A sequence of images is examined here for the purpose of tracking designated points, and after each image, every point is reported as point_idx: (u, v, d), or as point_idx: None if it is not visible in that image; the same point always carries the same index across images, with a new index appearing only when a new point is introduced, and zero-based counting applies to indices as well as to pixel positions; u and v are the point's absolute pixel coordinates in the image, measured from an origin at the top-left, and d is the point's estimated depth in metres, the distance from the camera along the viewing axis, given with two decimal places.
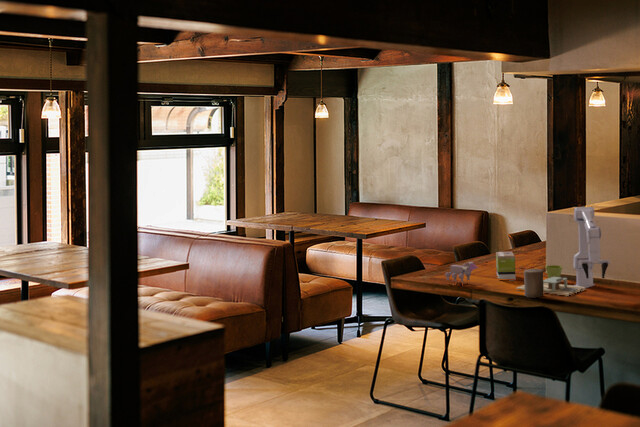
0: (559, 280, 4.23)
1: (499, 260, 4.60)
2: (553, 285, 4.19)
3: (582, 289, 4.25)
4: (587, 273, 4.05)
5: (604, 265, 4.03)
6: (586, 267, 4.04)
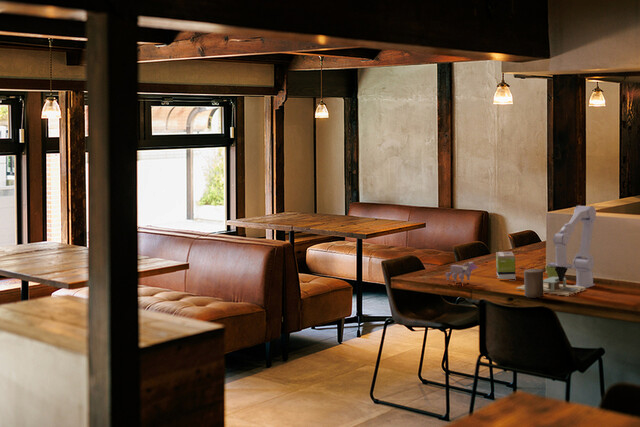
0: (558, 280, 4.23)
1: (499, 260, 4.60)
2: (552, 285, 4.20)
3: (582, 289, 4.25)
4: (559, 276, 4.23)
5: (560, 269, 4.21)
6: (557, 271, 4.22)
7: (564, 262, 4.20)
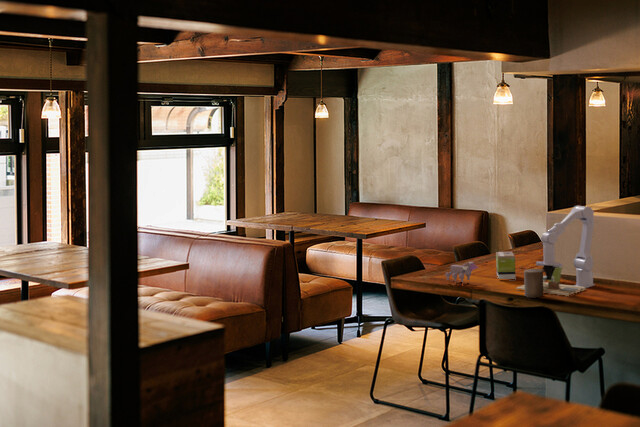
0: (546, 279, 4.28)
1: (499, 260, 4.60)
2: None
3: (582, 289, 4.25)
4: (547, 275, 4.27)
5: (547, 268, 4.25)
6: (545, 269, 4.27)
7: (552, 261, 4.25)
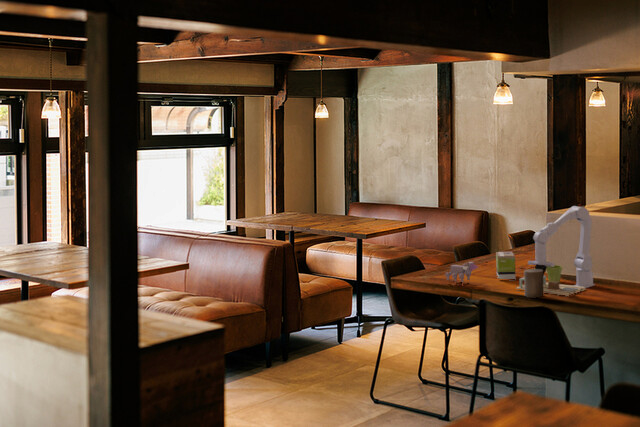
0: None
1: (499, 260, 4.60)
2: None
3: (582, 289, 4.25)
4: None
5: (539, 267, 4.29)
6: None
7: (543, 260, 4.28)
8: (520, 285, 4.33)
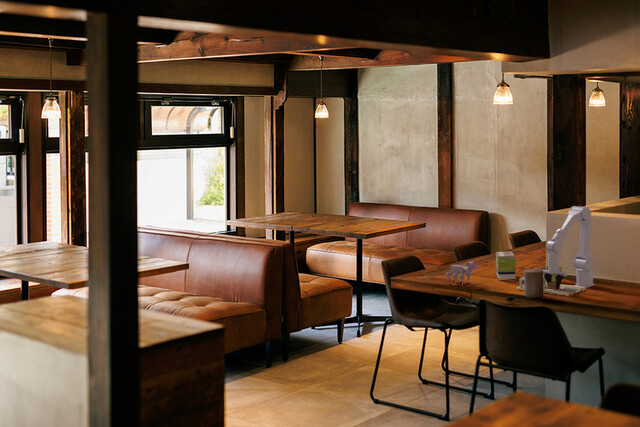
0: None
1: (499, 260, 4.60)
2: None
3: (582, 289, 4.25)
4: None
5: (556, 277, 4.23)
6: (546, 277, 4.27)
7: (556, 269, 4.23)
8: (520, 285, 4.33)
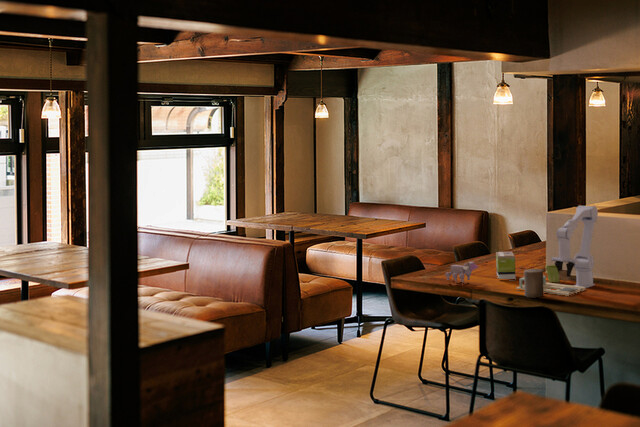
0: None
1: (499, 260, 4.60)
2: None
3: (582, 289, 4.25)
4: (558, 271, 4.23)
5: (567, 265, 4.18)
6: (557, 265, 4.23)
7: (567, 257, 4.19)
8: (520, 285, 4.33)
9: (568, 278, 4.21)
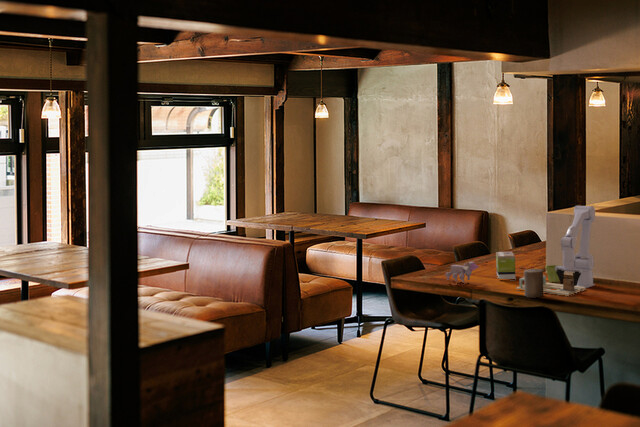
0: None
1: (499, 260, 4.60)
2: None
3: (582, 289, 4.25)
4: (560, 279, 4.23)
5: (573, 274, 4.17)
6: (558, 274, 4.23)
7: (571, 266, 4.18)
8: (520, 285, 4.33)
9: (572, 287, 4.21)
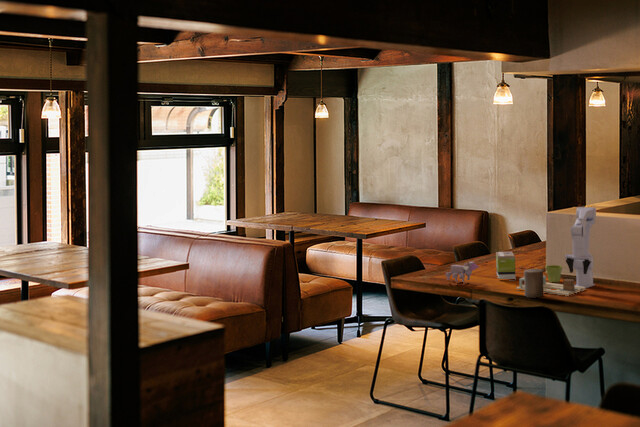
0: None
1: (499, 260, 4.60)
2: None
3: (582, 289, 4.25)
4: (569, 268, 4.24)
5: (583, 262, 4.17)
6: (568, 262, 4.24)
7: (581, 254, 4.19)
8: (520, 285, 4.33)
9: (572, 287, 4.21)
